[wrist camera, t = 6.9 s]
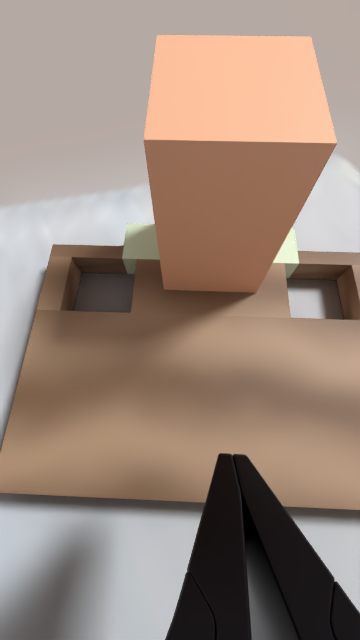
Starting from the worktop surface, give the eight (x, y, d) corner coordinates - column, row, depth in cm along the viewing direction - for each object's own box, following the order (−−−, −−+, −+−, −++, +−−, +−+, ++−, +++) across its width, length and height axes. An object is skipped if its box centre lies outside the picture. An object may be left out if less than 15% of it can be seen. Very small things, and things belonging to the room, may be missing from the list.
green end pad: (288, 278, 20) (299, 263, 19) (127, 273, 21) (122, 258, 19) (284, 245, 22) (294, 227, 20) (131, 241, 22) (126, 223, 20)
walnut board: (407, 503, 15) (438, 513, 13) (13, 485, 16) (-10, 492, 14) (354, 268, 21) (371, 253, 19) (64, 260, 21) (52, 244, 19)
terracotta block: (256, 292, 18) (336, 143, 9) (163, 289, 18) (143, 139, 9) (251, 218, 20) (310, 36, 11) (168, 217, 20) (157, 35, 11)
